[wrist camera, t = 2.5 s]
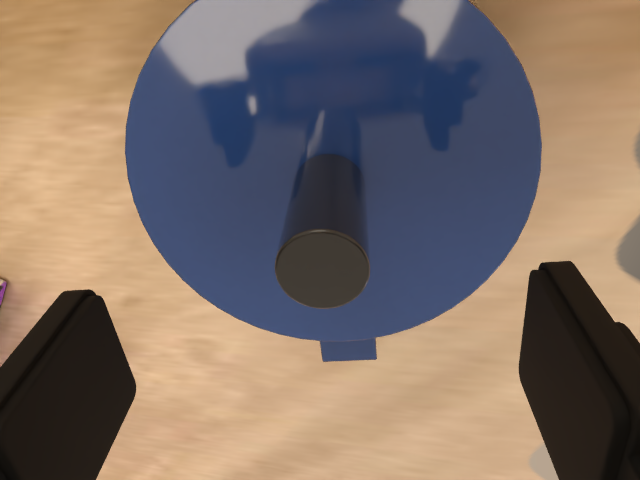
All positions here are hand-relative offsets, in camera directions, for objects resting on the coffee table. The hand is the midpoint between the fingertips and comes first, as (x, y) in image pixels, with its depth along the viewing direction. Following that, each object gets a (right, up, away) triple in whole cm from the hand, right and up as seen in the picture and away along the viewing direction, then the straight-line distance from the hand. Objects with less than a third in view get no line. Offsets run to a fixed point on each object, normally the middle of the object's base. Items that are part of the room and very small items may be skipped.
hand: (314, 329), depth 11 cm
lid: (0, +4, +6) cm, 7 cm away
